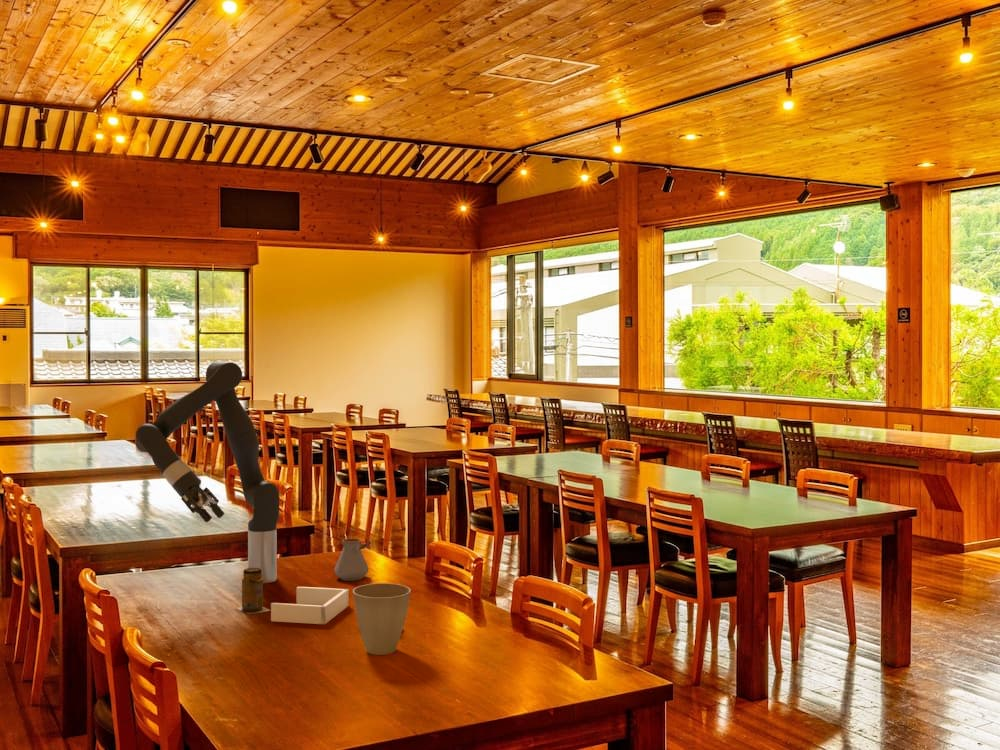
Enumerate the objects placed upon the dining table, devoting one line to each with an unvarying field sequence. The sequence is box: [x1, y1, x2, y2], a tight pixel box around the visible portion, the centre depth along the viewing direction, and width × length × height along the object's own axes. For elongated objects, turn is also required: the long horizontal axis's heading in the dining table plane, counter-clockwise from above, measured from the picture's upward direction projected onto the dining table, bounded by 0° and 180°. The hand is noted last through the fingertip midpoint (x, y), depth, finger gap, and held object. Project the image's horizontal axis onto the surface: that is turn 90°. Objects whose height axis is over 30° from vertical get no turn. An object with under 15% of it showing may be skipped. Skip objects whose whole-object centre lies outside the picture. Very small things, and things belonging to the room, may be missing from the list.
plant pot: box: [352, 582, 411, 656], centre depth 260 cm, size 15×15×16 cm
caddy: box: [270, 586, 350, 625], centre depth 295 cm, size 20×16×5 cm
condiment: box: [235, 567, 271, 615], centre depth 298 cm, size 7×8×12 cm
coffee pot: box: [334, 538, 374, 582], centre depth 334 cm, size 21×12×15 cm, turn 31°
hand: (215, 518), depth 303 cm, fingers open, 8 cm apart
